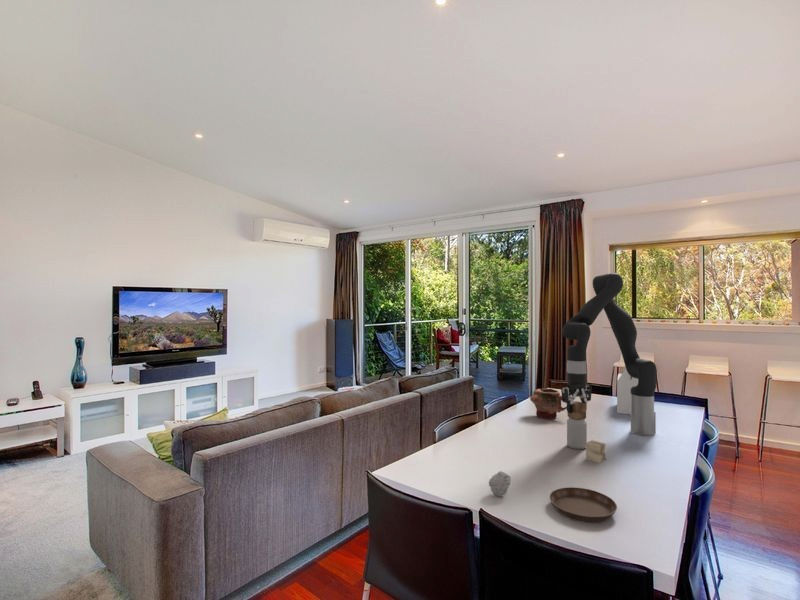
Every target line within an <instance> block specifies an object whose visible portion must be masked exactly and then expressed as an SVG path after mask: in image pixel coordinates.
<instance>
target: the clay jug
mask: <svg viewBox="0 0 800 600" xmlns="http://www.w3.org/2000/svg"><path fill="white" fill-rule="evenodd" d="M529 400H530V401H531V402H532V404H533V405H534V406H535V409H536V412H535V414H536V417H537V418H539V419H542V420H548V421H549V420H551V421H552V420H554V419H557V413H561V412H563V411H565V410H567V405H566V406H565V407H562V394H561V393H560V392H559V390H557V389H556V390H555V389H553V388H537V389H535V390H534V391H533V395H531V396H530V398H529Z"/></svg>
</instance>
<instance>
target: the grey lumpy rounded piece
mask: <svg viewBox="0 0 800 600" xmlns="http://www.w3.org/2000/svg"><path fill="white" fill-rule="evenodd" d="M511 482H512V480H511V476H510V475H509V474H507V473H506V472H504V471H501V470H500V471H498V472H497V473H495V474H494V475H492V477H491V478H489V480H488V486H489V487H490V490H491V493H492V494H493V495H495V496H496V497H503V496H505V495H506V494H507V492H508V489H509V487H510V485H511Z"/></svg>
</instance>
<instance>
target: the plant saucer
mask: <svg viewBox="0 0 800 600" xmlns="http://www.w3.org/2000/svg"><path fill="white" fill-rule="evenodd" d="M549 501H550V502H551V504H552V506H553V507H554V508H555V509H556V511H558V512H559V513H560V515H562V516H565V517H567V518H569V519H571V520H573V521H577V522H582V523H589V524H590V523H591V524H595V523H597V524H598V523H603V522H605V521H608V520H609V519H610V518H612V517H613V515H615V513H616V512H617V510H618V505H617V503H616V502H615V501H614V499H612V498H611V497H610V496H608V495H606V494H604V493H602V492H599V491H596V490H593V489H588V488H583V487H574V486H573V487H571V486H570V487H569V486H568V487H561V488H557V489H555V490H552V492H551V493H550V494H549Z"/></svg>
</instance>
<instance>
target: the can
mask: <svg viewBox="0 0 800 600" xmlns="http://www.w3.org/2000/svg"><path fill="white" fill-rule="evenodd" d="M587 425H588V424H587V421H586V418H585V419H577V420H576V419H573V418H570V417H568V419H567V420H566V444H567V445H568V447H569V448H571V449H573V450H584V449H586V443H587V442H588V440H587V439H588V438H587V437H588V436H587V435H588V433H587V431H588V430H587V429H588V426H587Z"/></svg>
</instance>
